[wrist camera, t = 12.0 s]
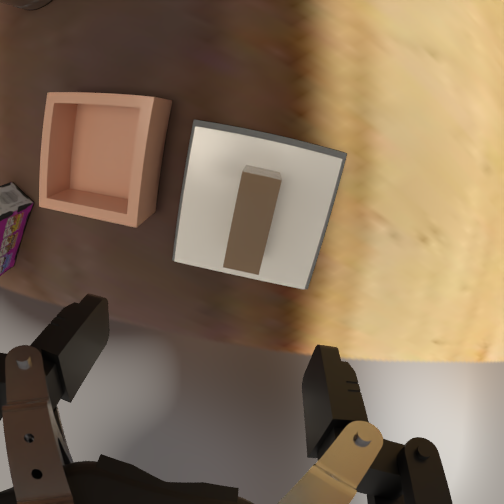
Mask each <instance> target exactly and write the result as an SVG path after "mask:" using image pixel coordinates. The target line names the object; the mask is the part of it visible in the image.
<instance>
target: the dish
mask: <svg viewBox="0 0 504 504" xmlns="http://www.w3.org/2000/svg"><path fill="white" fill-rule="evenodd" d="M171 106H172V100H167V99H162V98H157V97H150V96H139V95H126V94H109V93H83V92H48V94H47V100H46V107H45V115H44V123H43V133H42V144H41V158H40V181H39V207H43V208H48V209H53V210H57V211H62V212H66V213H71V214H76V215H80V216H85V217H89V218H94V219H99V220H103V221H108V222H113V223H117V224H122V225H126V226H131V227H136V228H137V227H138V226H139V225H140V224H141V223H143V222H144V221H145V220H146V219H147V218H149V217H150V216H151V215H152V214H153V213H155V211H156V202H157V194H158V186H159V179H160V172H161V165H162V158H163V152H164V146H165V140H166V134H167V128H168V122H169V117H170V112H171Z"/></svg>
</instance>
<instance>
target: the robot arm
mask: <svg viewBox="0 0 504 504" xmlns="http://www.w3.org/2000/svg"><path fill="white" fill-rule="evenodd" d="M50 1H51V0H0V2H1V3H5V4H8V5H12V6H15V7H18V8H23V9H26V10H35V9H38V8H40V7H42V6H44V5H46V4H47V3H49V2H50ZM108 337H109V313H108V301H107V299H106V298H103V297H100V296H96V295H93V294H87V295H86V296H85V297H84V298H83V299H82V301H81V302H80V303H79V304H78V303H75V302H74V303H72V304H70V305H68V306H67V307H65V308H63V310H62V311H61V312H60V313H59V314H58V315H57V317H55V318H54V319H53V320H52V321H51V324H49V325H48V326H47V327H46V328H45V329H44V330H43V331H42V333H41V334H40V335H39V336H38V337H37V338H36V339H35V341H34V342H33V343H32V344H31V345H30V346H28V345H22V346H18V347H15V348H13V349H12V350H11V351H9V353H8V354H4V353H0V420H1V418H2V417H3V426H4V435H5V442H6V449H7V456H8V462H9V467H10V473H11V478H12V483H13V487H12V488H10V489H7V490H4V491H2V492H0V504H253V503H252V502H250V501H248V500H246V499H244V498H241V497H238V488H233V487H227V486H220V485H214V484H209V483H203V482H202V483H177V482H176V483H175V482H165V481H162V480H160V479H158V478H156V477H154V476H152V475H150V474H149V473H146V472H145V471H143V470H141V469H139V468H137V467H135V466H134V465H131V464H128V463H125V462H122V461H119V460H116V459H113V458H110V457H107V456H105V455H102V454H101V455H100V457H99V460H98V462H95V461H83V462H73V460H72V457H71V454H70V452H69V449H68V446H67V443H66V439H65V435H64V431H63V427H62V423H61V419H60V415H59V411H58V407H57V404H58V402H59V400H60V399H63V400H65V401H68V402H71V401H72V399H73V398H74V396H75V394H76V393H77V391H78V389H79V388H80V386H81V384H82V382H83V381H84V379H85V378H86V376H87V374H88V373H89V371H90V370H91V368H92V366H93V365H94V363H95V361H96V360H97V358H98V357H99V355H100V353H101V352H102V350H103V349H104V347H105V345H106V344H107V341H108ZM302 393H303V406H304V417H305V429H306V443H307V457H309V458H318V462H317V463H316V464H314V465H313V466H312V467H311V469H310V470H309V471H308V472H307V473H306V474H305V475H304V476H303V477H302V479H301V480H300V481H299V482H298V483H297V484H296V485H295V486H294V487H293V488H292V489H291V490H290V491H289V492H288V493H287V494H286V495H285V497H283V499H282V500H281V501H280V502H279V503H278V504H349V503H350V502H351V500H352V499H353V497H354V496H355V494H356V492H360V493H364V494H367V500H368V504H452V500H451V496H450V492H449V488H448V484H447V480H446V477H445V473H444V470H443V466H442V463H441V459H440V456H439V453H438V450H437V448H436V447H435V445H434V444H433V443H432V442H430V441H429V440H427V439H424V438H419V437H417V438H412V439H411V440H409V441H408V442H407V443H406V444H405V445H403V444H399V443H395V442H392V441H388V440H385V439H383V437H382V434H381V432H380V431H379V430H378V429H377V428H376V427H375V426H374V425H372V424H370V423H369V422H368V418H367V414H366V410H365V406H364V402H363V399H362V395H361V393H360V387H359V384H358V380H357V377H356V373H355V371H354V370H353V368H352V367H351V366H350V365H349V363H348V362H343V361H341V359H340V355H339V351H338V348H337V347H331V346H324V345H317V346H316V347H315V350H314V352H313V354H312V357H311V359H310V362H309V364H308V367H307V369H306V371H305V374H304V377H303V382H302Z"/></svg>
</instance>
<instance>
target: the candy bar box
mask: <svg viewBox="0 0 504 504" xmlns="http://www.w3.org/2000/svg"><path fill="white" fill-rule="evenodd" d="M32 206H33V201H32V200H31V199H29V198H28V197H27V196H26V195H25V194H24V193H23V192H22V191H21V190H20V189H19V188H18V187H17V186H16V185H15V184H14V183H12V182H10V183H8V184H5V185H2V186H0V276H1V275H2V274H3V273H5V272H6V271H7V270H9V269H10V268H12V267H13V266H14V264H15V260H16V256H17V253H18V249H19V245H20V242H21V238H22V235H23V232H24V229H25V226H26V223H27V220H28V217H29V214H30V211H31V208H32Z"/></svg>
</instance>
